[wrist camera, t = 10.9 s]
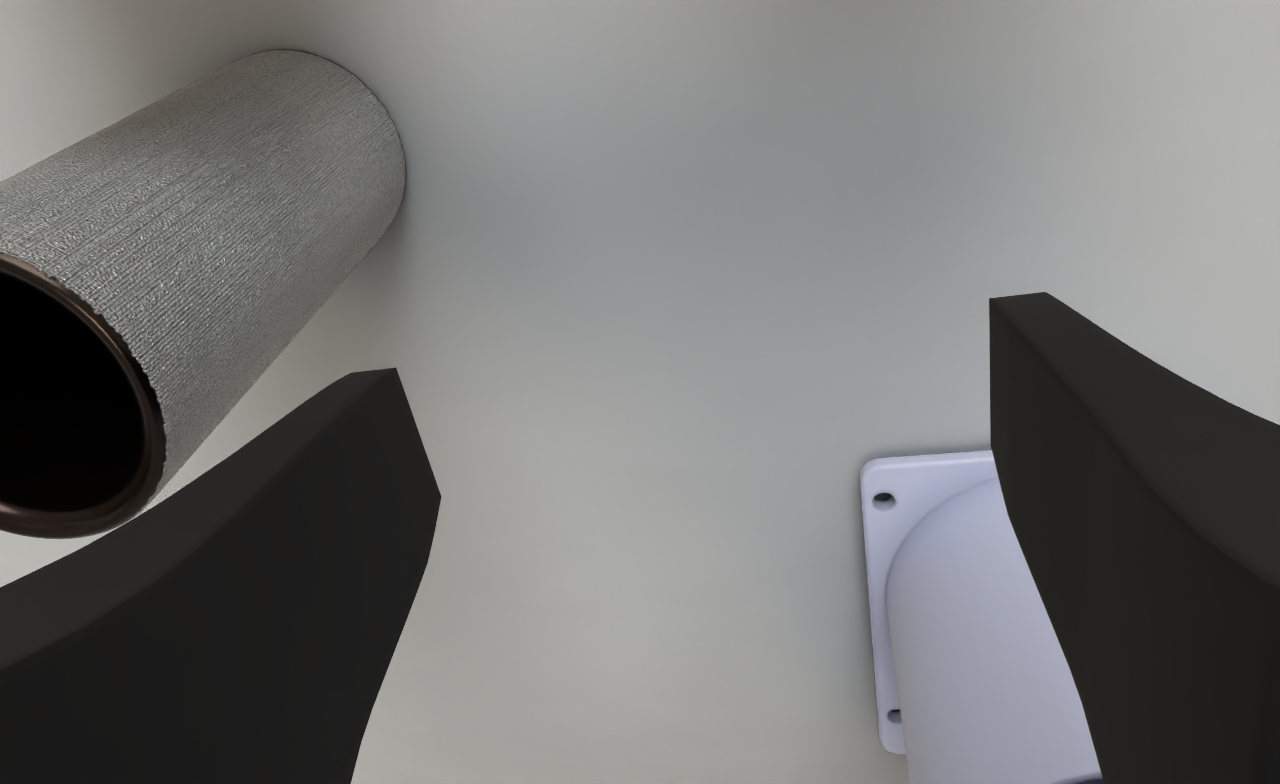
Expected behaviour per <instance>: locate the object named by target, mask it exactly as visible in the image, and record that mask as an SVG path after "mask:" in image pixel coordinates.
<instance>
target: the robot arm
mask: <svg viewBox="0 0 1280 784" xmlns="http://www.w3.org/2000/svg"><path fill="white" fill-rule="evenodd" d="M989 316H990V417H991V448H992V450H983V451H969V452H955V453H941V454H927V455H914V456H900V457H886V458H878V459H874V460H871V461H869V462H868V463H866V464H865V465H864V467H863V468H862V469H861V472H860V489H861V502H862V515H863V528H864V541H865V555H866V568H867V581H868V594H869V607H870V620H871V634H872V647H873V660H874V673H875V686H876V699H877V713H878V726H879V737H880V743H881V746H882V747H883V748H884V749H885V750H886V751H888V752H891V753H894V754H906V758H907V766H908V773H909V781H910V784H1280V425H1278V424H1275V423H1273V422H1271V421H1268V420H1266V419H1264V418H1261V417H1259V416H1257V415H1254V414H1252V413H1250V412H1248V411H1246V410H1244V409H1242V408H1240V407H1237V406H1235V405H1233V404H1231V403H1229V402H1227V401H1225V400H1223V399H1221V398H1219V397H1218V396H1216V395H1214V394H1212V393H1210V392H1208V391H1206V390H1204V389H1202V388H1201V387H1199V386H1197V385H1195V384H1193V383H1191V382H1189V381H1187V380H1185V379H1183V378H1182V377H1180V376H1178V375H1177V374H1175V373H1173V372H1171V371H1170V370H1168V369H1166V368H1164V367H1163V366H1161V365H1159V364H1157V363H1156V362H1154V361H1152V360H1151V359H1149V358H1147V357H1146V356H1144V355H1143V354H1141V353H1139V352H1138V351H1136V350H1135V349H1133V348H1131V347H1130V346H1128V345H1127V344H1125V343H1123V342H1122V341H1120V340H1119V339H1117V338H1116V337H1114V336H1113V335H1111V334H1109V333H1108V332H1106V331H1105V330H1103V329H1102V328H1100V327H1099V326H1097V325H1096V324H1094V323H1093V322H1091V321H1090V320H1088V319H1087V318H1085V317H1084V316H1082V315H1081V314H1079V313H1078V312H1076V311H1075V310H1073V309H1072V308H1070V307H1069V306H1067V305H1066V304H1064V303H1063V302H1061V301H1060V300H1058V299H1056V298H1055V297H1053V296H1051V295H1050V294H1048V293H1046V292H1041V293H1033V294H1024V295H1016V296H1007V297H998V298H990V299H989ZM880 493H889V494H891V495H892V497H891V498H890V499H889V500H886V501H878V500H876V499H874V497H875V496H876V495H877V494H880ZM440 501H441V495H440V492H439V489H438V486H437V483H436V480H435V477H434V475H433V472H432V469H431V466H430V463H429V460H428V457H427V455H426V452H425V449H424V446H423V443H422V440H421V437H420V435H419V432H418V429H417V426H416V423H415V420H414V417H413V415H412V412H411V409H410V406H409V403H408V400H407V397H406V395H405V392H404V389H403V386H402V383H401V380H400V377H399V375H398V372H397V369H396V368H389V369H380V370H372V371H363V372H355V373H350V374H348V375H346V376H344V377H343V378H341V379H339V380H337V381H335V382H334V383H332V384H331V385H329V386H327V387H326V388H324V389H323V390H321V391H320V392H318V393H317V394H315V395H314V396H313V397H311V398H310V399H308V400H307V401H305V402H304V403H303V404H301V405H300V406H298V407H297V408H296V409H294V410H293V411H291V412H290V413H289V414H287V415H286V416H285V417H283V418H282V419H280V420H279V421H278V422H276V423H275V424H274V425H272V426H271V427H269V428H268V429H267V430H265V431H264V432H262V433H261V434H260V435H258V436H257V437H256V438H254V439H253V440H251V441H250V442H249V443H247V444H246V445H245V446H243V447H242V448H240V449H239V450H238V451H236V452H235V453H233V454H232V455H231V456H229V457H228V458H226V459H225V460H223V461H222V462H220V463H219V464H217V465H216V466H214V467H213V468H211V469H210V470H208V471H207V472H206V473H204V474H203V475H201V476H200V477H198V478H197V479H195V480H194V481H192V482H191V483H189V484H188V485H186V486H185V487H183V488H182V489H180V490H179V491H177V492H176V493H174V494H173V495H171V496H170V497H168V498H167V499H165V500H164V501H162V502H161V503H159V504H157V505H156V506H154V507H153V508H151V509H149V510H148V511H146V512H144V513H143V514H141V515H139V516H138V517H136V518H134V519H133V520H131V521H129V522H128V523H126V524H124V525H122V526H121V527H119V528H117V529H115V530H113V531H112V532H110V533H108V534H106V535H105V536H103V537H101V538H99V539H97V540H96V541H94V542H92V543H90V544H88V545H87V546H85V547H83V548H81V549H79V550H77V551H75V552H73V553H71V554H69V555H67V556H65V557H63V558H61V559H59V560H57V561H55V562H53V563H51V564H49V565H46V566H44V567H42V568H40V569H38V570H36V571H34V572H32V573H30V574H28V575H26V576H24V577H22V578H19V579H17V580H15V581H13V582H11V583H9V584H7V585H5V586H3V587H1V588H0V784H351V780H352V776H353V772H354V768H355V764H356V760H357V757H358V753H359V749H360V745H361V741H362V738H363V735H364V732H365V729H366V726H367V723H368V720H369V717H370V714H371V711H372V708H373V705H374V703H375V700H376V698H377V695H378V692H379V690H380V687H381V685H382V682H383V679H384V677H385V674H386V672H387V669H388V667H389V664H390V661H391V659H392V656H393V654H394V651H395V648H396V646H397V643H398V641H399V638H400V635H401V633H402V630H403V628H404V625H405V622H406V620H407V617H408V615H409V612H410V609H411V607H412V604H413V601H414V599H415V596H416V593H417V590H418V588H419V585H420V582H421V580H422V577H423V574H424V571H425V568H426V566H427V563H428V558H429V554H430V550H431V545H432V541H433V537H434V532H435V527H436V522H437V516H438V511H439V506H440ZM894 709H900V711H898V712H894V711H891V710H894Z"/></svg>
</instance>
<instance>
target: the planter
mask: <svg viewBox="0 0 1280 784" xmlns="http://www.w3.org/2000/svg"><path fill="white" fill-rule="evenodd" d="M404 188H405V159H404V154H403V149H402V146H401V142H400V139H399V136H398V133H397V131H396V129H395V126H394V124H393V122H392V120H391V119H390V117H389V115H388V113H387V112H386V110H385V109H384V107H383V106H382V104H381V103H380V102H379V100H378V99H377V98H376V97H375V96H374V94H373V93H372V92H371V91H370V90H369V89H368V88H367V87H366V86H365V85H364V84H363V83H362V82H360V81H359V80H358V79H357V78H356V77H354V76H353V75H352V74H350V73H349V72H348V71H346V70H345V69H343V68H341V67H340V66H338V65H336V64H334V63H332V62H330V61H328V60H326V59H323V58H321V57H318V56H315V55H312V54H308V53H304V52H299V51H291V50H273V51H265V52H261V53H257V54H253V55H250V56H248V57H245V58H242V59H240V60H237V61H235V62H232V63H230V64H228V65H226V66H224V67H222V68H220V69H218V70H216V71H215V72H213V73H211V74H209V75H207V76H205V77H203V78H201V79H199V80H197V81H195V82H193V83H191V84H189V85H187V86H186V87H184V88H182V89H180V90H178V91H176V92H174V93H172V94H170V95H168V96H166V97H164V98H162V99H160V100H159V101H157V102H155V103H153V104H151V105H149V106H147V107H145V108H143V109H141V110H139V111H137V112H135V113H133V114H131V115H130V116H128V117H126V118H124V119H122V120H120V121H118V122H116V123H114V124H112V125H110V126H108V127H106V128H104V129H103V130H101V131H99V132H97V133H95V134H93V135H91V136H89V137H87V138H85V139H83V140H81V141H79V142H77V143H75V144H74V145H72V146H70V147H68V148H66V149H64V150H62V151H60V152H58V153H56V154H54V155H52V156H50V157H48V158H47V159H45V160H43V161H41V162H39V163H37V164H35V165H33V166H31V167H29V168H27V169H25V170H23V171H21V172H19V173H18V174H16V175H14V176H12V177H10V178H8V179H6V180H4V181H2V182H0V530H2V531H6V532H9V533H13V534H18V535H22V536H28V537H35V538H45V539H72V538H81V537H87V536H92V535H96V534H100V533H103V532H106V531H109V530H111V529H114V528H116V527H118V526H120V525H122V524H124V523H126V522H128V521H129V520H131V519H132V518H134V517H135V516H136V515H138V514H139V513H140V512H141V511H142V510H143V509H144V508H145V507H146V506H147V505H148V504H149V503H150V502H151V501H152V500H153V499H154V498H155V497H156V496H157V494H158V493H159V492H160V491H161V490H162V489H163V488H164V486H165V485H166V484H167V483H168V482H169V481H170V480H171V478H172V477H173V476H174V475H175V474H176V473H177V472H178V470H179V469H180V468H181V467H182V466H183V465H184V463H185V462H186V461H187V460H188V459H189V458H190V457H191V455H192V454H193V453H194V452H195V451H196V450H197V449H198V447H199V446H200V445H201V444H202V443H203V442H204V440H205V439H206V438H207V437H208V436H209V435H210V434H211V432H212V431H213V430H214V429H215V428H216V427H217V426H218V424H219V423H220V422H221V421H222V420H223V419H224V417H225V416H226V415H227V414H228V413H229V412H230V411H231V409H232V408H233V407H234V406H235V405H236V404H237V403H238V401H239V400H240V399H241V398H242V397H243V396H244V394H245V393H246V392H247V391H248V390H249V389H250V388H251V386H252V385H253V384H254V383H255V382H256V381H257V380H258V378H259V377H260V376H261V375H262V374H263V373H264V371H265V370H266V369H267V368H268V367H269V366H270V365H271V363H272V362H273V361H274V360H275V359H276V358H277V357H278V355H279V354H280V353H281V352H282V351H283V350H284V348H285V347H286V346H287V345H288V344H289V343H290V342H291V340H292V339H293V338H294V337H295V336H296V335H297V334H298V332H299V331H300V330H301V329H302V328H303V327H304V325H305V324H306V323H307V322H308V321H309V320H310V319H311V317H312V316H313V315H314V314H315V313H316V312H317V311H318V309H319V308H320V307H321V306H322V305H323V304H324V302H325V301H326V300H327V299H328V298H329V297H330V296H331V294H332V293H333V292H334V291H335V290H336V289H337V288H338V286H339V285H340V284H341V283H342V282H343V281H344V279H345V278H346V277H347V276H348V275H349V274H350V273H351V271H352V270H353V269H354V268H355V267H356V266H357V265H358V263H359V262H360V261H361V260H362V259H363V258H364V256H365V255H366V254H367V253H368V252H369V251H370V250H371V248H372V247H373V246H374V245H375V244H376V243H377V242H378V240H379V239H380V238H381V237H382V235H383V234H384V232H385V231H386V230H387V228H388V227H389V225H390V224H391V222H392V221H393V219H394V217H395V216H396V214H397V212H398V209H399V207H400V204H401V201H402V198H403V194H404Z"/></svg>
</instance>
